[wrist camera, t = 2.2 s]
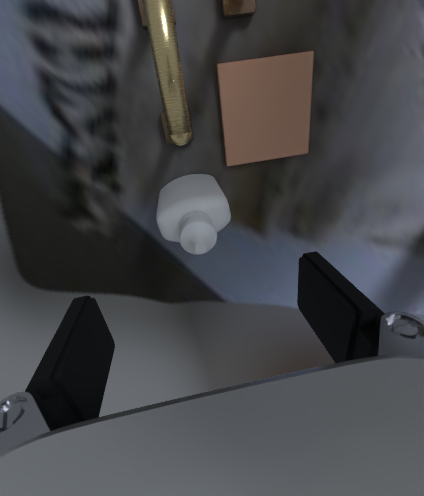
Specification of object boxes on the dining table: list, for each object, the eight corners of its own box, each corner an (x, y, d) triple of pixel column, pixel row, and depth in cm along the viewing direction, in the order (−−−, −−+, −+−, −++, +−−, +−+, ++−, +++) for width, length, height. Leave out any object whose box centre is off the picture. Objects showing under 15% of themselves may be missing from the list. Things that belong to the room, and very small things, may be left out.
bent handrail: (135, -15, 18) (108, -106, 10) (251, -29, 18) (306, -125, 11) (166, 142, 23) (164, 158, 15) (257, 128, 23) (297, 137, 16)
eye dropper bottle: (210, 217, 27) (234, 285, 17) (157, 206, 26) (146, 272, 15) (221, 176, 25) (256, 224, 15) (164, 162, 24) (158, 204, 13)
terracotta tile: (216, 65, 21) (217, 63, 20) (310, 52, 21) (313, 50, 21) (226, 165, 25) (227, 166, 24) (305, 152, 25) (308, 153, 25)
